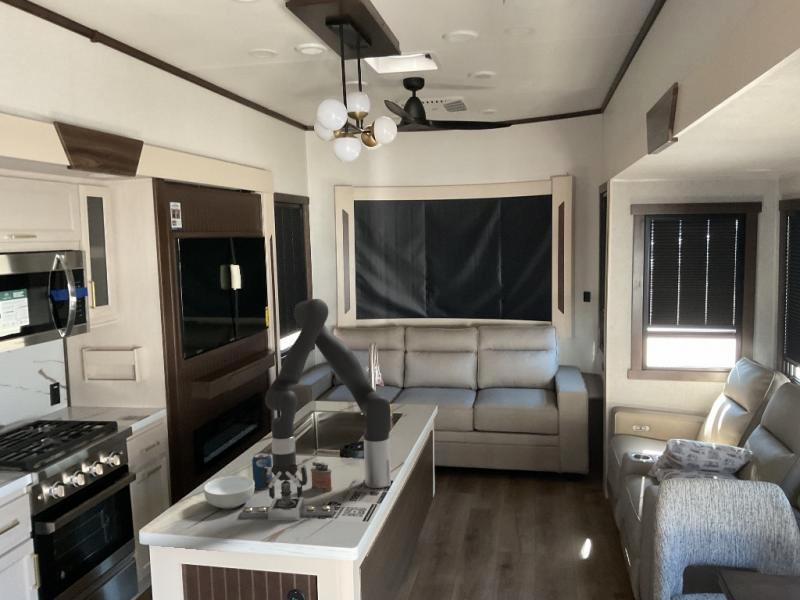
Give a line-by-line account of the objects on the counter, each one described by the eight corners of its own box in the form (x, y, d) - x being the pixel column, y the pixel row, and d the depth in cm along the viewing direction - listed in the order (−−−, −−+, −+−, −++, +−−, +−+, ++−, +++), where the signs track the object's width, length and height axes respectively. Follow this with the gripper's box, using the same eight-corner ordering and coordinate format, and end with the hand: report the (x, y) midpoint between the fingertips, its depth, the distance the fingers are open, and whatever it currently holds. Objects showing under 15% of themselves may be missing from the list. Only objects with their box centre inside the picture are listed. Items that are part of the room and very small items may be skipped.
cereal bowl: (229, 518, 215) (227, 497, 214) (194, 508, 223) (193, 488, 223) (265, 499, 229) (264, 480, 228) (231, 491, 238) (230, 472, 237)
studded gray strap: (335, 506, 222) (335, 496, 221) (332, 519, 212) (331, 508, 211) (246, 508, 222) (246, 498, 222) (239, 521, 212) (238, 511, 212)
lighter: (333, 489, 236) (332, 462, 235) (329, 492, 233) (327, 465, 232) (314, 486, 240) (313, 459, 239) (309, 489, 237) (308, 462, 236)
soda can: (268, 490, 237) (266, 458, 236) (250, 489, 238) (248, 457, 237) (275, 483, 244) (274, 451, 242) (258, 482, 245) (256, 451, 244)
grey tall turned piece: (278, 510, 220) (277, 475, 218) (296, 509, 220) (295, 474, 219) (277, 518, 214) (275, 482, 212) (295, 517, 214) (293, 481, 213)
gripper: (307, 445, 218) (309, 492, 220) (264, 446, 218) (266, 493, 220) (303, 452, 211) (305, 501, 212) (259, 453, 211) (261, 502, 213)
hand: (285, 497), depth 216 cm, fingers open, 8 cm apart
